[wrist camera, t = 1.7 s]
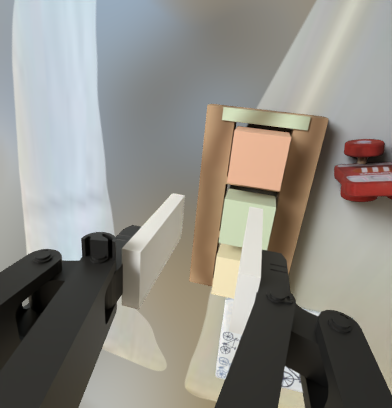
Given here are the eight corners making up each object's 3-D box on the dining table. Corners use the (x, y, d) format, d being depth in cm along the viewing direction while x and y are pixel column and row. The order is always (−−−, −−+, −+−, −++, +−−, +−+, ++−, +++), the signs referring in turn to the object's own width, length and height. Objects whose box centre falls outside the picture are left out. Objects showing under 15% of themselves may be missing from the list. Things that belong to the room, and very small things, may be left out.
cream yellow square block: (263, 250, 41) (263, 265, 37) (256, 285, 43) (255, 303, 39) (221, 241, 42) (216, 256, 38) (215, 276, 44) (211, 293, 40)
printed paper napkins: (227, 288, 49) (225, 296, 47) (357, 316, 45) (361, 326, 43) (214, 369, 56) (212, 380, 54) (325, 399, 52) (327, 411, 51)
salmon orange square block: (288, 132, 35) (291, 137, 31) (278, 181, 37) (279, 191, 33) (237, 126, 36) (234, 130, 32) (230, 173, 38) (227, 182, 34)
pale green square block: (275, 196, 38) (276, 207, 34) (266, 237, 40) (266, 252, 36) (228, 188, 39) (224, 198, 35) (222, 229, 41) (218, 242, 37)
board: (324, 116, 36) (329, 119, 33) (280, 289, 46) (281, 303, 43) (211, 103, 38) (207, 105, 35) (193, 270, 48) (188, 282, 45)
